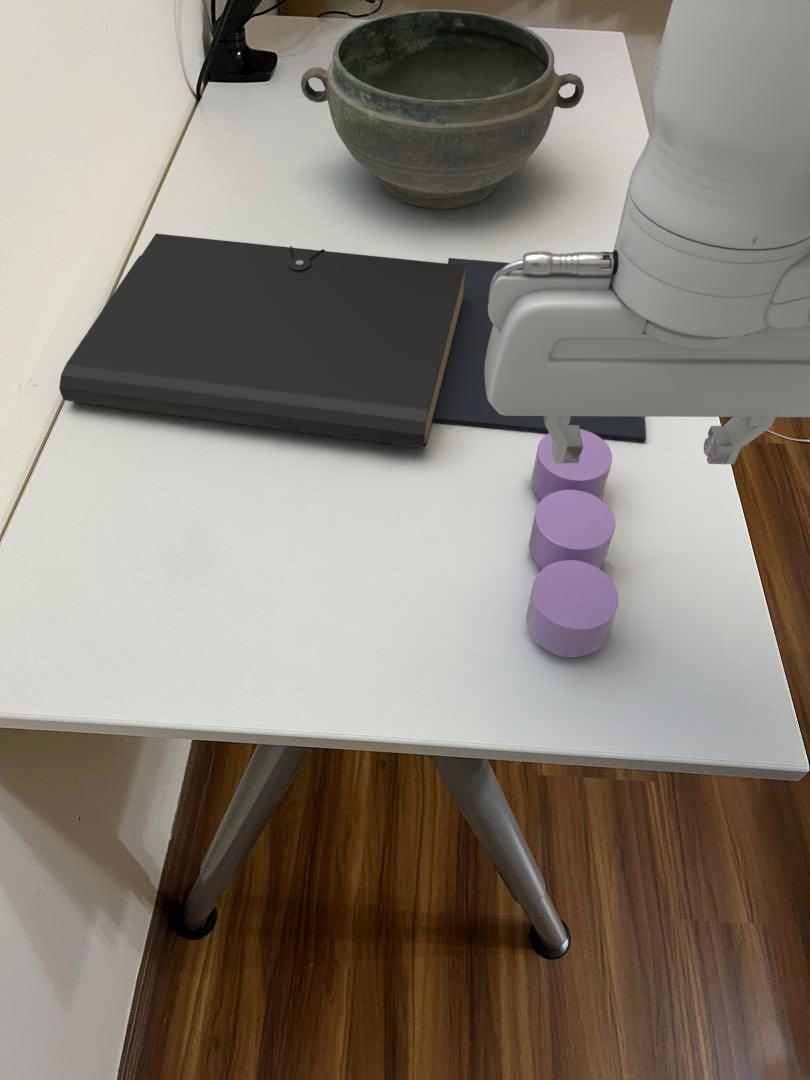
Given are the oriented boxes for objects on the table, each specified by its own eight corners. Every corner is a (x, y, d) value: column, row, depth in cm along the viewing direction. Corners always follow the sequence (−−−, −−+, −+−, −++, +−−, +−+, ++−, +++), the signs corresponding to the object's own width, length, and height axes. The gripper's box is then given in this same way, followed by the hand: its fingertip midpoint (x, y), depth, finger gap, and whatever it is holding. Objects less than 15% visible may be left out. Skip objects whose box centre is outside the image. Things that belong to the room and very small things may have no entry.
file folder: (466, 261, 85) (424, 424, 70) (464, 295, 88) (423, 459, 73) (155, 229, 89) (53, 377, 74) (164, 263, 92) (68, 412, 77)
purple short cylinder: (600, 470, 73) (611, 431, 70) (602, 522, 69) (613, 483, 66) (531, 463, 74) (538, 424, 70) (528, 515, 70) (536, 476, 66)
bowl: (295, 231, 97) (282, 95, 85) (319, 126, 113) (311, 1, 102) (577, 241, 96) (602, 106, 85) (559, 134, 113) (579, 9, 101)
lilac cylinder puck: (602, 531, 69) (614, 493, 65) (604, 591, 65) (616, 553, 61) (528, 524, 69) (536, 485, 66) (526, 582, 65) (533, 544, 62)
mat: (631, 277, 92) (632, 272, 91) (644, 443, 75) (646, 438, 75) (448, 262, 93) (448, 257, 93) (422, 421, 77) (422, 416, 76)
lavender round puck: (604, 601, 64) (617, 564, 61) (606, 669, 61) (620, 633, 57) (525, 592, 65) (533, 555, 61) (522, 659, 61) (531, 623, 57)
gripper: (498, 290, 39) (474, 494, 50) (937, 294, 39) (820, 495, 50) (488, 218, 43) (468, 420, 54) (886, 222, 43) (788, 422, 54)
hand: (640, 456), depth 52 cm, fingers open, 8 cm apart
